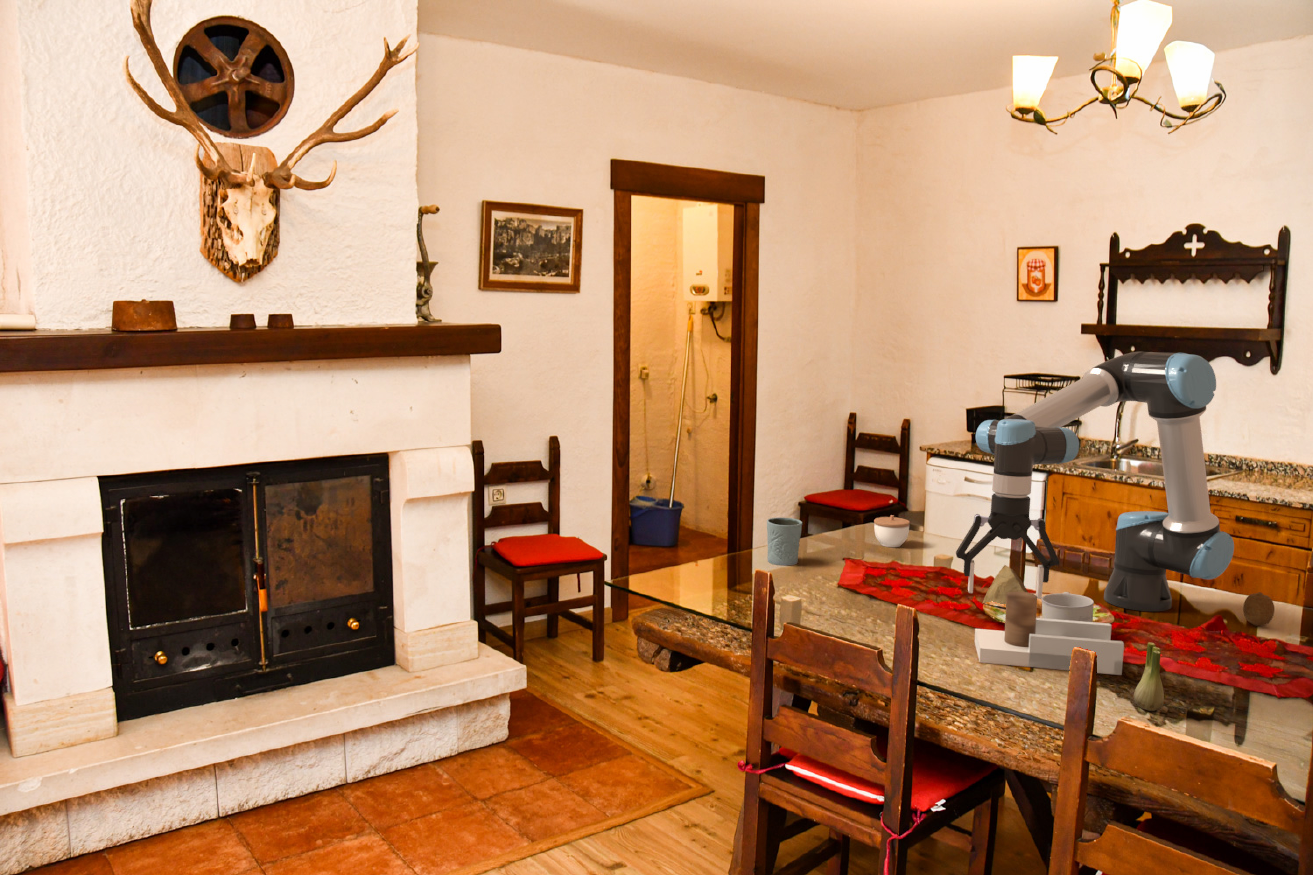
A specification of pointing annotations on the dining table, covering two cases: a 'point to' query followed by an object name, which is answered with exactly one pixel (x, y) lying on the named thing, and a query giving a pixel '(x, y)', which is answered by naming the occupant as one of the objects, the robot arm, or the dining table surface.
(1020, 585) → the rock
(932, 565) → the dining table surface
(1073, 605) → the teacup
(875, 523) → the lidded jar
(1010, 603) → the brown cylinder
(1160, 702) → the fennel bulb
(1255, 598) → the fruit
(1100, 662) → the channel
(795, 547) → the embossed blue-grey cup
